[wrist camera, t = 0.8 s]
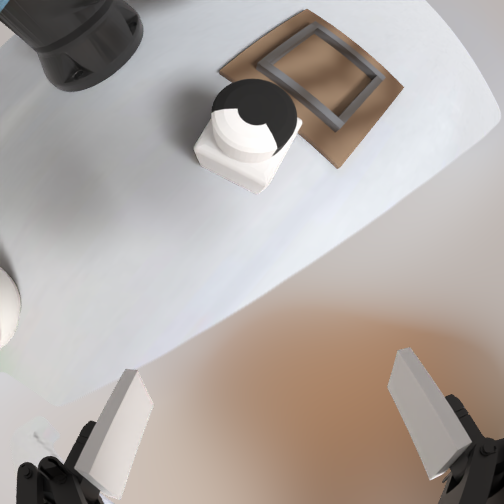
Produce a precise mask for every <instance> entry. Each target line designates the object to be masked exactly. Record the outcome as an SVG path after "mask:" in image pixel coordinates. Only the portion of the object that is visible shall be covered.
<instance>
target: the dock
mask: <svg viewBox="0 0 504 504" xmlns="http://www.w3.org/2000/svg"><path fill="white" fill-rule="evenodd" d="M220 75H222V76H223V77H225V78H226V79H228V80H229V81H231V82H232V83H234V82H236V81H239V80H243V79H262V80H266V81H269V82H272V83H274V84H276V85H278V86H279V87H281V88H282V89H283V90H284V91H285V92H286V93H287V94H288V95H289V96H290V97H291V99H292V100H293V102H294V104H295V107H296V111H297V117H298V118H300V119H301V120H302V125H301V127H300V129H299V131H298V134H300V135H301V136H302V137H303V138H304V139H305V140H306V141H308V142H309V143H310V144H311V145H312V146H313V147H314V148H315V149H317V150H318V151H319V152H320V153H321V154H322V155H323V156H324V157H325V158H326V159H327V160H328V161H330V162H331V163H332V164H333V165H334V166H335V167H336V168H337V169H338V168H340V167H341V166H342V164H343V163H344V162H345V161H346V159H347V158H348V157H349V156H350V155H351V153H352V152H353V151H354V150H355V148H356V147H357V146H358V145H359V143H360V142H361V141H362V140H363V138H364V137H365V136H366V135H367V133H368V132H369V131H370V130H371V128H372V127H373V126H374V125H375V123H376V122H377V121H378V120H379V118H380V117H381V116H382V115H383V113H384V112H385V111H386V110H387V108H388V107H389V106H390V105H391V103H392V102H393V101H394V100H395V98H396V97H397V96H398V94H399V93H400V92H401V91H402V89H403V88H404V87H403V86H402V85H401V84H400V83H399V82H398V81H397V80H396V79H395V78H394V77H393V76H392V75H391V74H390V73H389V72H388V71H387V70H386V69H385V68H384V67H383V66H382V65H381V64H380V63H378V62H377V61H376V60H375V59H374V58H373V57H372V56H371V55H369V54H368V53H367V52H366V51H365V50H364V49H362V48H361V47H360V46H359V45H357V44H356V43H355V42H354V41H352V40H351V39H350V38H349V37H347V36H346V35H345V34H343V33H342V32H341V31H339V30H338V29H336V28H335V27H334V26H332V25H331V24H329V23H328V22H326V21H325V20H324V19H322V18H321V17H319V16H317V15H316V14H314V13H313V12H311V11H310V10H308V9H306V10H304V11H302V12H301V13H299V14H297V15H296V16H294V17H292V18H291V19H289V20H288V21H286V22H284V23H283V24H281V25H280V26H278V27H277V28H275V29H274V30H272V31H271V32H269V33H268V34H266V35H265V36H264V37H262V38H261V39H259V40H258V41H257V42H255V43H254V44H253V45H251V46H250V47H249V48H247V49H246V50H245V51H243V52H242V53H241V54H239V55H238V56H237V57H236V58H234V59H233V60H232V61H231V62H229V63H228V64H227V65H226V66H225V67H223V68H222V69H221V70H220Z"/></svg>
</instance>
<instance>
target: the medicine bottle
mask: <svg viewBox="0 0 504 504" xmlns="http://www.w3.org/2000/svg"><path fill="white" fill-rule="evenodd" d="M211 116H212V118H211V119H210V121H209V122H208V124H207V126H206V127H205V129H204V130H203V132H202V134H201V135H200V137H199V139H198V140H197V142H196V144H195V145H194V151H195V154H196V156H197V158H198V161H199V163H200V165H201V167H203V168H205V169H207V170H209V171H211V172H213V173H215V174H217V175H219V176H221V177H223V178H225V179H227V180H229V181H231V182H233V183H235V184H236V185H238V186H240V187H242V188H244V189H246V190H248V191H250V192H252V193H254V194H256V195H258V194H259V193H261V192H262V191H263V190H264V189H265V188H266V187H267V186H268V185H269V184H270V182H271V181H272V179H273V177H274V175H275V173H276V171H277V169H278V168H279V166H280V164H281V162H282V160H283V158H284V156H285V155H286V153H287V151H288V149H289V147H290V145H291V144H292V142H293V140H294V138H295V136H296V134H297V133H298V131H299V129H300V127H301V125H302V120H301V119H300V118H298V117H297V111H296V107H295V104H294V102H293V100H292V99H291V97H290V96H289V95H288V94H287V93H286V92H285V91H284V90H283V89H282V88H281V87H279V86H278V85H276V84H274V83H272V82H269V81H266V80H262V79H243V80H239V81H236V82H234V83H231V84H230V85H228V86H226V87H225V88H224V89H223V90H222V91H221V92H220V93H219V94H218V95H217V97H216V99H215V101H214V103H213V106H212V112H211Z"/></svg>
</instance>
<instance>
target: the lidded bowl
mask: <svg viewBox="0 0 504 504" xmlns="http://www.w3.org/2000/svg"><path fill="white" fill-rule="evenodd" d="M20 311H21V299H20V294H19V291H18V288H17V286H16V284H15V282H14V281H13V279H12V278H11V277H10V276H9V275H8V274H7V273H6V272H5V271H4V270H3V269H2V268H1V267H0V349H1V348H3V347H4V346H5V345H6V344H7V343H8V342H9V341H10V340H11V338H12V337H13V335H14V334H15V332H16V330H17V327H18V324H19V319H20Z"/></svg>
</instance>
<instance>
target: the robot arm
mask: <svg viewBox="0 0 504 504" xmlns="http://www.w3.org/2000/svg"><path fill="white" fill-rule="evenodd" d="M0 21H1V22H2V23H4V24H5V25H6V26H7V27H8V28H9V29H11V30H12V31H13V32H14V33H15V34H16V35H18V36H19V37H20V38H21V39H22V40H24V41H25V42H26V43H27V44H28V45H29V46H31V47H32V48H33V49H34V50H35V51H36V52H37V53H38V56H39V59H40V61H41V64H42V67H43V69H44V72H45V74H46V77H47V78H48V80H49V81H50V82H51V83H52V84H53V85H55V86H56V87H57V88H59V89H60V90H63V91H70V92H72V91H79V90H83V89H86V88H89V87H92V86H94V85H96V84H98V83H100V82H102V81H103V80H105V79H106V78H108V77H109V76H111V75H112V74H114V73H115V72H116V71H117V70H119V69H120V68H121V67H122V66H123V65H124V64H125V63H126V62H127V61H128V60H129V59H130V58H131V56H132V55H133V54H134V52H135V51H136V50H137V48H138V46H139V44H140V42H141V40H142V36H143V25H142V22H141V19H140V17H139V15H138V13H137V12H136V11H135V10H134V9H133V8H132V7H131V6H129V5H128V4H127V3H125V2H124V1H123V0H0ZM388 390H389V392H390V394H391V396H392V398H393V400H394V402H395V404H396V406H397V408H398V410H399V412H400V414H401V416H402V418H403V420H404V422H405V425H406V427H407V429H408V431H409V433H410V435H411V437H412V440H413V442H414V444H415V446H416V449H417V451H418V453H419V455H420V458H421V460H422V463H423V465H424V467H425V470H426V472H427V474H428V477H429V479H430V480H431V479H434V478H436V477H438V476H440V475H442V474H444V473H445V472H446V471H447V470H448V468H450V470H451V472H450V473H449V474H448V475H447V476H446V477H445V478H444V480H443V481H442V482H443V483H444V482H445V481H446V480H447V479H448V480H447V483H446V485H445V488H444V491H443V493H442V496H441V498H440V500H439V503H438V504H504V438H503V439H500V440H494V439H491V438H485V437H484V436H483V435H482V434H481V432H480V430H479V429H478V427H477V426H476V424H475V422H474V421H473V419H472V418H471V416H470V415H468V412H467V410H466V409H465V408H464V406H463V404H462V403H461V401H460V400H459V399H458V398H457V397H455V396H454V395H452V394H451V395H448V396H446V397H444V396H443V394H442V393H441V391H440V390H439V388H438V387H437V385H436V384H435V382H434V381H433V379H432V378H431V376H430V375H429V373H428V372H427V370H426V369H425V368H424V366H423V365H422V363H421V362H420V360H419V359H418V358H417V356H416V355H415V354H414V352H413V351H412V349H411V348H410V347H409V348H405V349H401V350H398V351H397V355H396V359H395V363H394V367H393V370H392V373H391V377H390V380H389V383H388ZM153 405H154V404H153V402H152V400H151V398H150V396H149V394H148V391H147V389H146V387H145V385H144V383H143V381H142V378H141V376H140V374H139V371H138V370H131V369H125V371H124V372H123V374H122V376H121V378H120V380H119V381H118V383H117V385H116V387H115V389H114V391H113V393H112V394H111V396H110V398H109V400H108V402H107V404H106V406H105V407H104V409H103V411H102V413H101V415H100V417H99V419H98V421H97V422H94V421H89V422H88V423H87V424H86V425H85V426H84V427H83V429H82V430H81V432H80V434H79V436H78V438H77V440H76V443H75V444H74V446H73V448H72V450H71V452H70V453H69V456H68V457H67V460H66V461H65V463H64V465H63V464H62V463H61V462H60V461H59V460H58V459H57V458H56V457H53V456H47V457H45V458H43V459H42V460H41V461H40V463H39V465H38V468H37V467H36V466H34V465H33V464H32V463H29V462H25V463H23V464H21V465H20V467H19V468H18V473H17V495H16V500H17V502H16V504H104V503H103V501H102V498H101V497H100V496H99V493H100V491H101V492H103V493H104V494H105V495H107V496H110V497H112V498H115V499H119V500H121V497H122V494H123V491H124V488H125V485H126V481H127V478H128V476H129V473H130V470H131V467H132V463H133V460H134V458H135V455H136V452H137V449H138V447H139V444H140V441H141V438H142V435H143V432H144V430H145V427H146V424H147V421H148V419H149V416H150V413H151V411H152V408H153Z"/></svg>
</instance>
